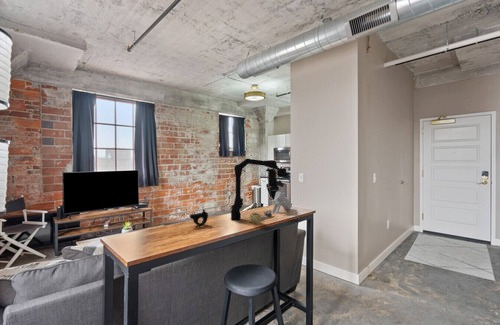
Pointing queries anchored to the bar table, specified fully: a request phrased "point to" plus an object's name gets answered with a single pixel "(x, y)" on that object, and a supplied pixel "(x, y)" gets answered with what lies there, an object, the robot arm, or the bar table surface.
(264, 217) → the pad
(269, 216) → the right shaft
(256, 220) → the olive green rounded lump
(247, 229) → the bar table surface
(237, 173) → the robot arm
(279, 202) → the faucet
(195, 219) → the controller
